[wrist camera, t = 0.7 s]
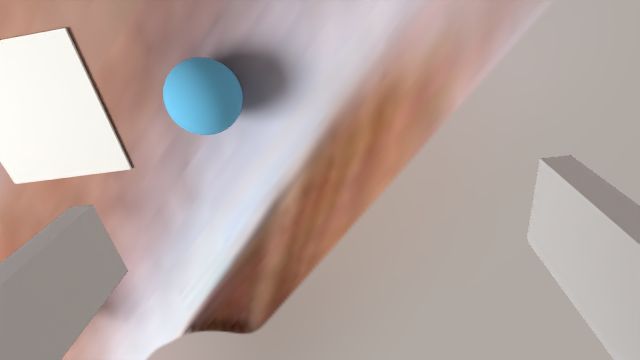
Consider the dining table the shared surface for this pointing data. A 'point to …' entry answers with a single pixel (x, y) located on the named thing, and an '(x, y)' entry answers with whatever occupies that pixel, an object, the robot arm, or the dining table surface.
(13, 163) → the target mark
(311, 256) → the dining table surface
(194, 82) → the ball
